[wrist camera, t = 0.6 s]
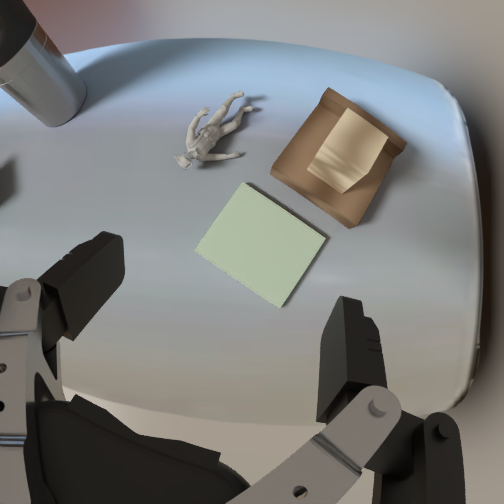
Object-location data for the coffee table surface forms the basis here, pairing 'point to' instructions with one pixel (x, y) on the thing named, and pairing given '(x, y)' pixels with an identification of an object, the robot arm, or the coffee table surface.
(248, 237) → the pad
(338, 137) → the birch block
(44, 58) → the robot arm
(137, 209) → the coffee table surface
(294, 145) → the walnut ledge
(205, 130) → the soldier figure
